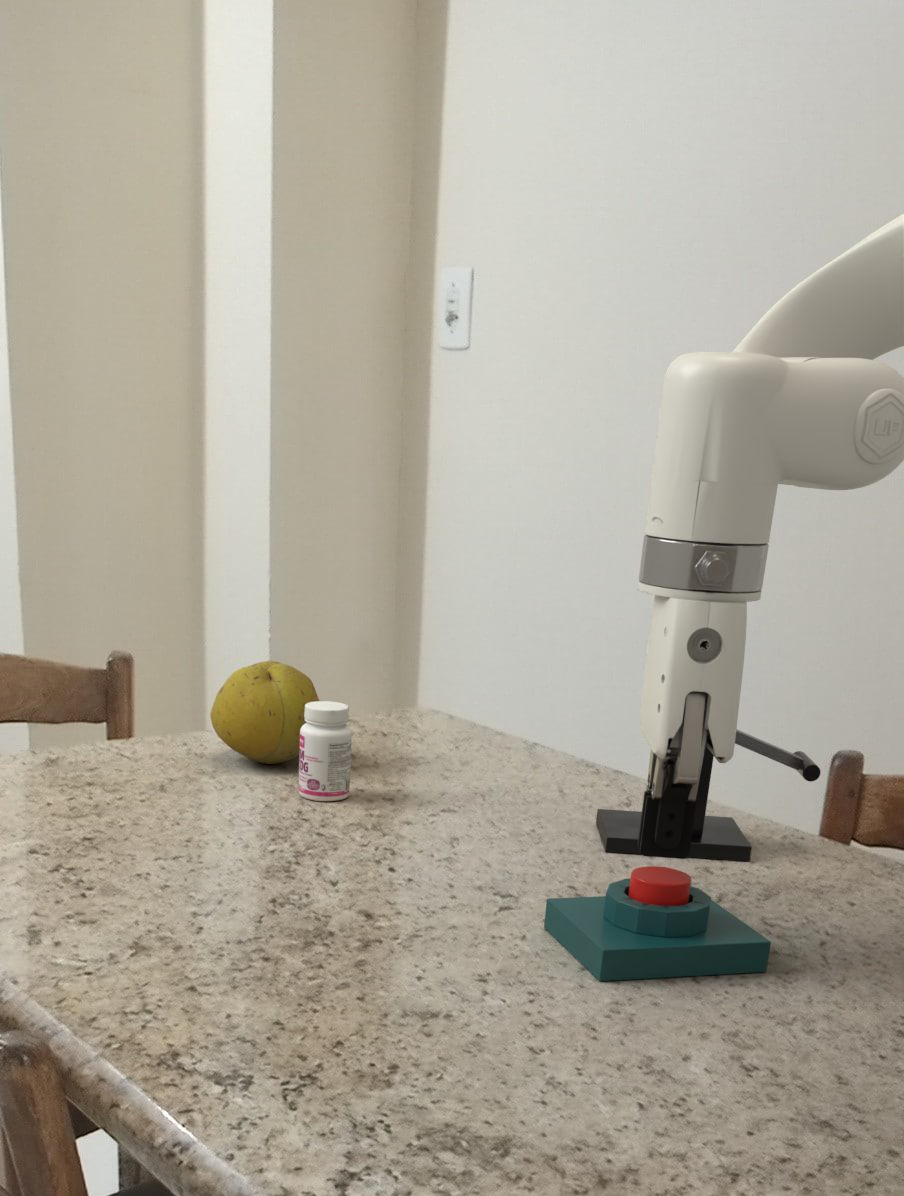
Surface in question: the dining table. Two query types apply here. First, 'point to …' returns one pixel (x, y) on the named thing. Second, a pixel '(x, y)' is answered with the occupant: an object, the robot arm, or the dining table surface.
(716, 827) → the switch bracket
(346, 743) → the pill bottle
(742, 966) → the button block
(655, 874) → the stop button
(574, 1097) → the dining table surface
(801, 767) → the switch lever
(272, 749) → the fruit
